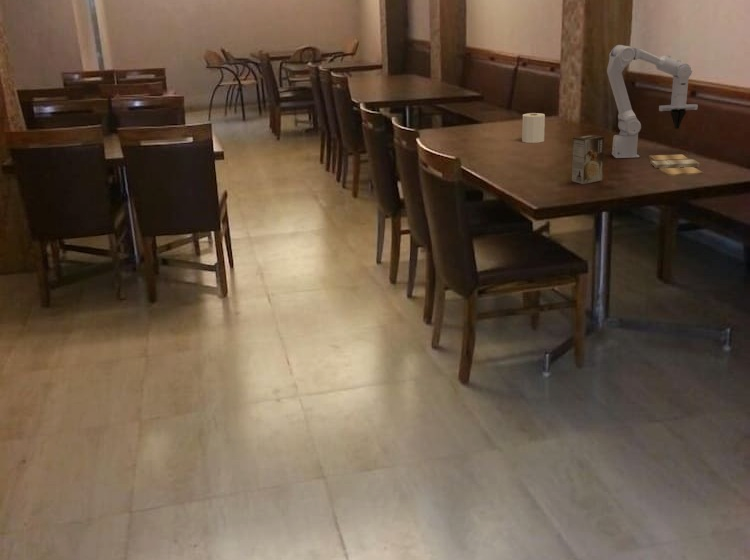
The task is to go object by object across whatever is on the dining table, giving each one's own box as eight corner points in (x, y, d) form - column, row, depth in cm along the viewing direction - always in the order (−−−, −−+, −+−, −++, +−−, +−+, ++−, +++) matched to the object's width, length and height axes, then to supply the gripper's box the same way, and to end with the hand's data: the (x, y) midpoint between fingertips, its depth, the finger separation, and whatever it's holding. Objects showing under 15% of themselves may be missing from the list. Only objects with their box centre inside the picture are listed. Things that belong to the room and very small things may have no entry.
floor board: (656, 168, 291) (656, 164, 290) (650, 164, 298) (650, 159, 298) (699, 167, 290) (699, 162, 289) (692, 162, 297) (692, 158, 296)
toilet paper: (537, 138, 359) (537, 112, 355) (548, 141, 350) (549, 115, 346) (517, 140, 356) (518, 114, 352) (528, 143, 347) (529, 117, 343)
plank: (667, 177, 280) (668, 174, 279) (658, 171, 288) (658, 168, 288) (703, 175, 280) (703, 172, 279) (693, 170, 288) (693, 167, 288)
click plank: (655, 163, 299) (655, 160, 298) (648, 158, 307) (649, 155, 307) (689, 162, 298) (689, 159, 297) (682, 157, 306) (682, 154, 306)
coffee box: (590, 177, 283) (592, 134, 277) (602, 180, 277) (605, 136, 272) (571, 181, 279) (572, 137, 273) (583, 184, 273) (585, 139, 268)
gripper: (663, 96, 303) (660, 130, 307) (701, 94, 301) (698, 129, 306) (658, 93, 309) (656, 127, 314) (695, 92, 308) (692, 126, 313)
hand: (676, 128), depth 310 cm, fingers closed
